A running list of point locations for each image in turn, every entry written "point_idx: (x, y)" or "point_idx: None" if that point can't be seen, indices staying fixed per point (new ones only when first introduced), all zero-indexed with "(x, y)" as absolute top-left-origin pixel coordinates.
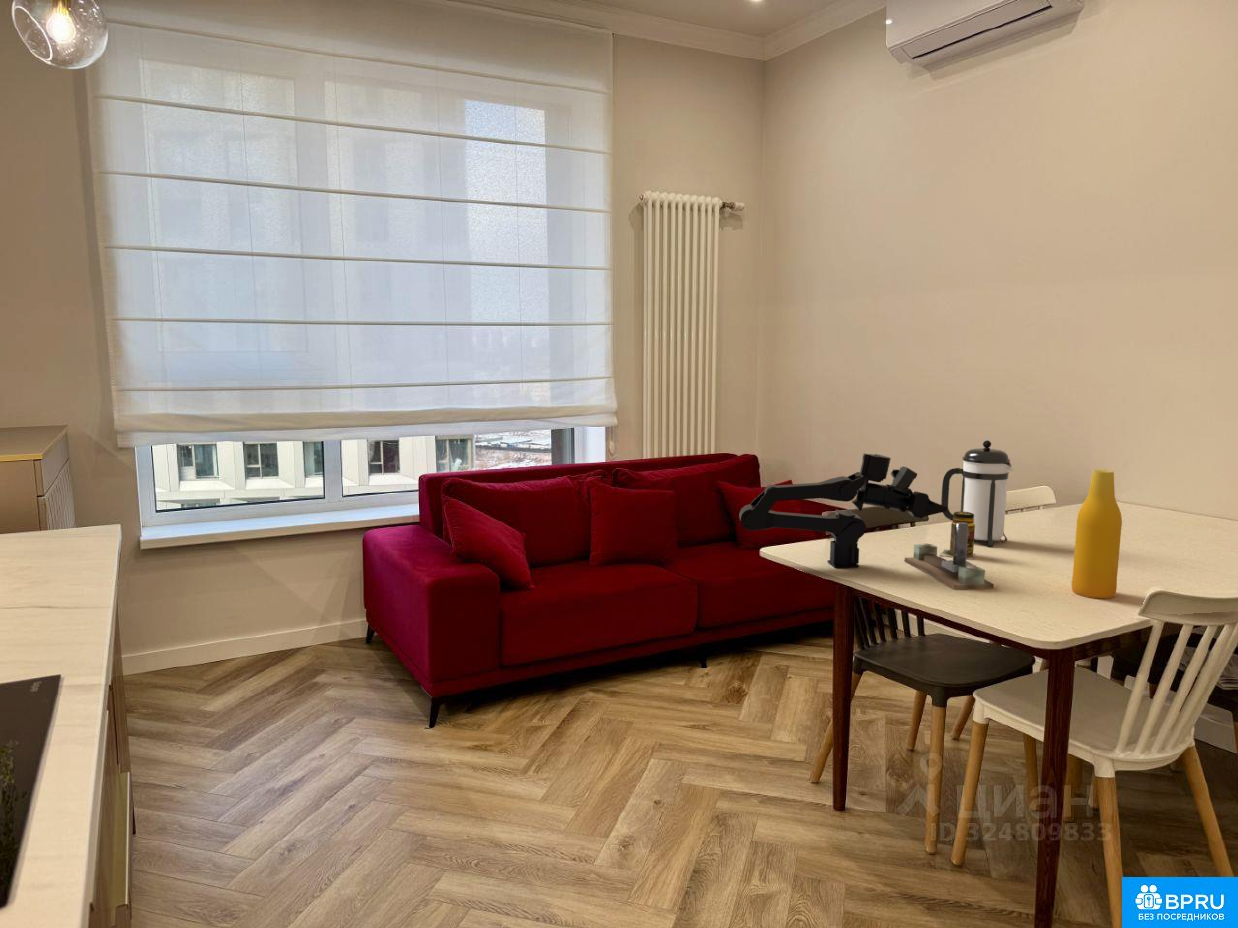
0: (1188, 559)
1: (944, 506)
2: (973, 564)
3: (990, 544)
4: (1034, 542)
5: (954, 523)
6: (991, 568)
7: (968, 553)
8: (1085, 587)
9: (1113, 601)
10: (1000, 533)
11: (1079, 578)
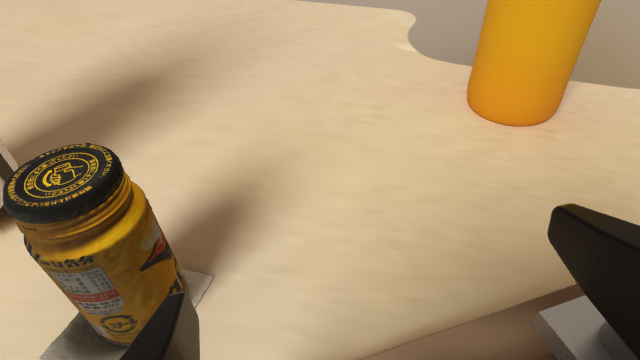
0: (207, 9)
1: (607, 217)
2: None
3: None
4: (31, 120)
5: (89, 249)
6: (336, 240)
7: (183, 276)
8: (561, 98)
9: None
10: (9, 152)
11: (559, 89)
